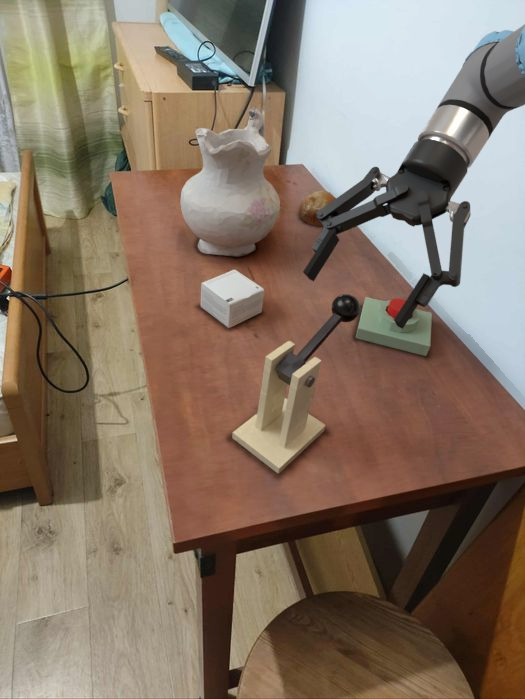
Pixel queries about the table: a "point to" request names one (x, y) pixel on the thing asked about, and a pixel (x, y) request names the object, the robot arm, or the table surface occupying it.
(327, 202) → the bread roll
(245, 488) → the table surface
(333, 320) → the lever
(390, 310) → the button
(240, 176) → the ceramic pitcher
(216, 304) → the small box
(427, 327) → the button block
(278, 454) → the cream lever bracket
